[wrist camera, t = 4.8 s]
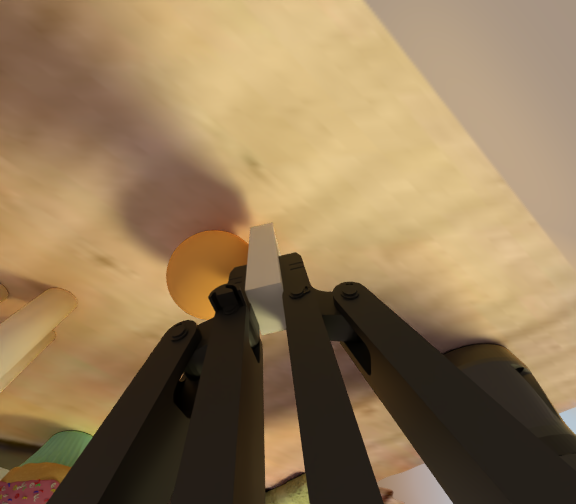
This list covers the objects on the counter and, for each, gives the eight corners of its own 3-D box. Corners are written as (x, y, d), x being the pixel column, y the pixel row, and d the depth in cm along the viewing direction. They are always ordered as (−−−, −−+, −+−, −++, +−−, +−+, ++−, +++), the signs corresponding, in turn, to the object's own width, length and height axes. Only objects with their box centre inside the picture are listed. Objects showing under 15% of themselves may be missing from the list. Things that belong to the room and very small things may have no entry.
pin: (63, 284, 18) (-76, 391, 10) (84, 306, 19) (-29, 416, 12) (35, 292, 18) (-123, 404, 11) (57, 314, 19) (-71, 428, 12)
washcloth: (313, 506, 50) (316, 528, 47) (255, 491, 43) (255, 517, 40) (361, 484, 47) (367, 507, 44) (307, 464, 40) (311, 490, 37)
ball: (245, 208, 17) (238, 243, 11) (269, 273, 19) (272, 325, 14) (168, 230, 17) (125, 275, 11) (203, 291, 20) (182, 350, 14)
